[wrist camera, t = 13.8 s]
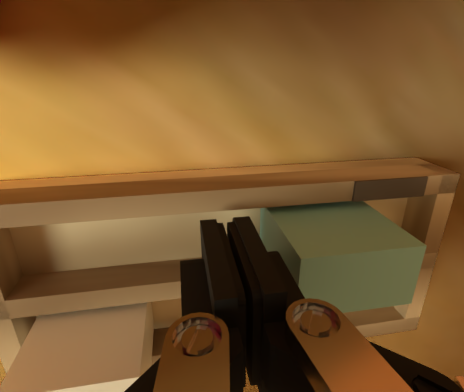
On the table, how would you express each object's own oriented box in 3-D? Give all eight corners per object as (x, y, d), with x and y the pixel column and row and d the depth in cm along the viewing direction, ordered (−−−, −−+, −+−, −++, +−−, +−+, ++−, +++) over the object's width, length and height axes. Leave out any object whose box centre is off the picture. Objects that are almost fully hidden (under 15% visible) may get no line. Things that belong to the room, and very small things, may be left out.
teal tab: (344, 237, 14) (411, 303, 10) (259, 245, 14) (295, 319, 10) (351, 192, 14) (426, 245, 10) (261, 199, 13) (301, 259, 9)
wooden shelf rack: (384, 295, 18) (417, 331, 15) (37, 341, 15) (12, 394, 12) (415, 157, 15) (462, 174, 12) (-14, 181, 12) (-61, 210, 9)
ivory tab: (153, 324, 14) (147, 424, 10) (59, 337, 14) (13, 448, 10) (149, 285, 13) (139, 376, 9) (48, 296, 13) (-8, 400, 9)
